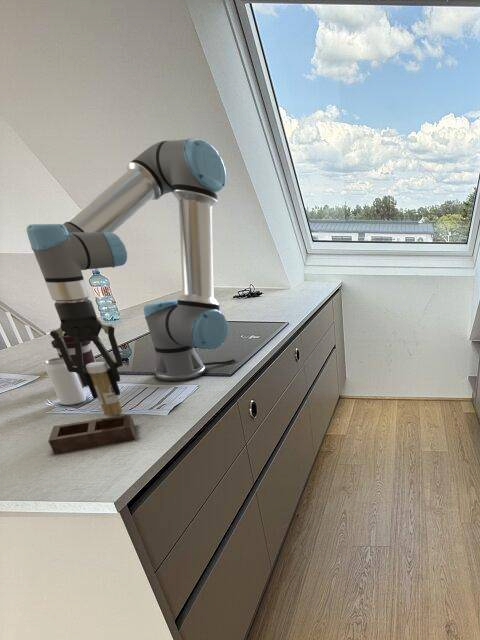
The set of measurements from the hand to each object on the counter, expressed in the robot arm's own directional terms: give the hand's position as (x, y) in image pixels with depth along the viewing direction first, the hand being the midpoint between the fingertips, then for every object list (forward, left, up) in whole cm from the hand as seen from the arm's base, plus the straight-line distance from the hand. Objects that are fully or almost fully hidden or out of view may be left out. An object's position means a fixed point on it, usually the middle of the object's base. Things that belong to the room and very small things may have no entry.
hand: (106, 395), depth 118 cm
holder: (+3, +14, -6) cm, 16 cm away
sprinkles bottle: (0, 0, -5) cm, 5 cm away
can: (+11, -18, -6) cm, 22 cm away
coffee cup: (+9, -36, -6) cm, 38 cm away
